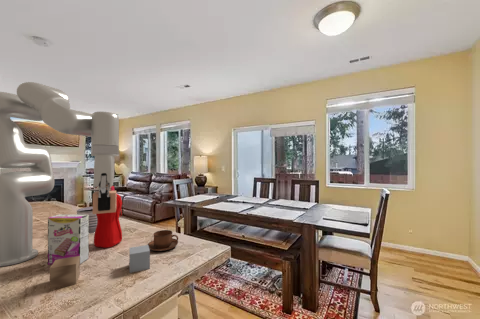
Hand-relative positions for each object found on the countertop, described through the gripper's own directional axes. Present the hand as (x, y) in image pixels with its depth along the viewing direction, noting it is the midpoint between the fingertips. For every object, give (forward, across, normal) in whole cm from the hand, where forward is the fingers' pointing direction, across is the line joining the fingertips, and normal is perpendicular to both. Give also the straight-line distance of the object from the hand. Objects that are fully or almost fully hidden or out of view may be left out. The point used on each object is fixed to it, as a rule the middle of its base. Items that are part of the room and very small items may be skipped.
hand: (105, 207), depth 70 cm
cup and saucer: (+21, -14, +20) cm, 32 cm away
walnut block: (+21, 0, -10) cm, 23 cm away
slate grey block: (+21, 0, +10) cm, 23 cm away
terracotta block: (+1, 0, 0) cm, 1 cm away
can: (+21, -53, -10) cm, 58 cm away
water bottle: (+21, -27, 0) cm, 34 cm away
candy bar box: (+21, -15, -12) cm, 29 cm away
